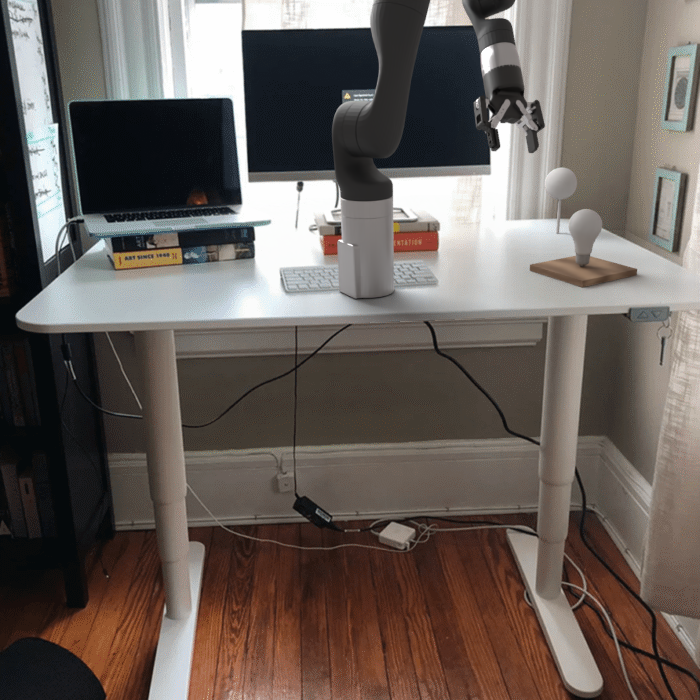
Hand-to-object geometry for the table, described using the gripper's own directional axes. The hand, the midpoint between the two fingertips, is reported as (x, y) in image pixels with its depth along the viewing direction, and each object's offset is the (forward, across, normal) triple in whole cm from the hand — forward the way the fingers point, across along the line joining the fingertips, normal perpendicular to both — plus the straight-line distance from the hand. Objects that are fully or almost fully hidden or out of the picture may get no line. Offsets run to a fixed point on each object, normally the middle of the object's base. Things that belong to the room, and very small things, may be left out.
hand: (515, 150), depth 154 cm
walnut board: (+25, +10, -1) cm, 27 cm away
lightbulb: (+24, +10, -1) cm, 26 cm away
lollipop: (+8, +26, +25) cm, 37 cm away
